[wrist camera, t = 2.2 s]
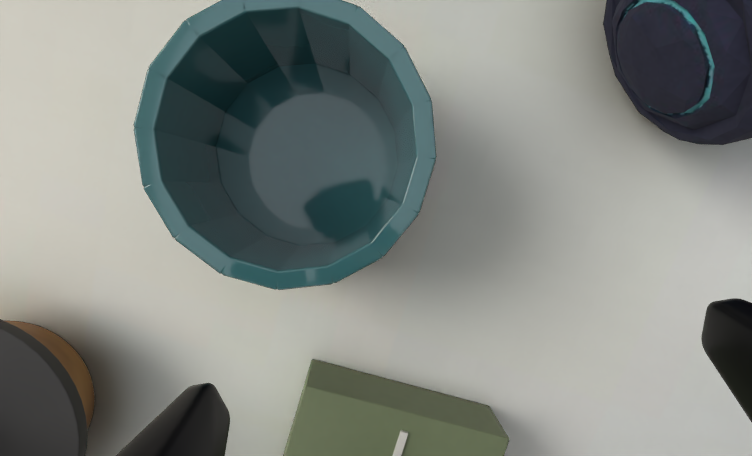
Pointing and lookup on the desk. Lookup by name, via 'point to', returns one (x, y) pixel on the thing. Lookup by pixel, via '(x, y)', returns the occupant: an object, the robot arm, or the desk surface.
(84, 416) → the lid
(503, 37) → the desk surface
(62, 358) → the stand
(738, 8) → the portable speaker
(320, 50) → the teal cup
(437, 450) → the control panel
